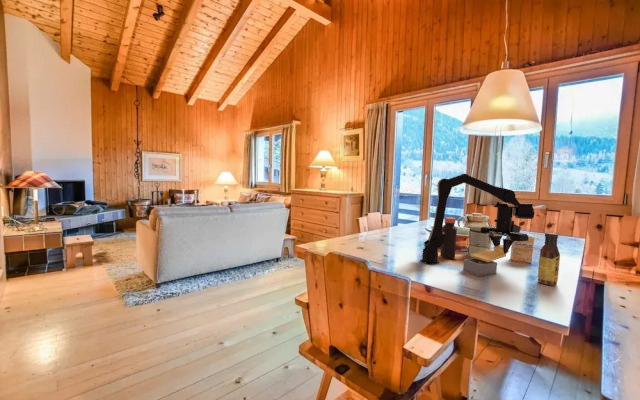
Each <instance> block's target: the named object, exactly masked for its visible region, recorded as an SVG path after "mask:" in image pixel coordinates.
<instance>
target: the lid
mask: <svg viewBox="0 0 640 400" xmlns="http://www.w3.org/2000/svg"><path fill="white" fill-rule="evenodd" d="M508 253H510V251H509V250H508V252H507V254H508ZM507 254H504V249H503V244H500V245H498V246H493V250H492V249H491V250H489V249H488V250H484V251H481V252H478V253H474V254H471V256H470V257H471V258H476V259H479V260H482V261H485V262H490V261H496V260H500V259H502V258H506V257H507Z"/></svg>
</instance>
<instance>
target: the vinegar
mask: <svg viewBox="0 0 640 400" xmlns="http://www.w3.org/2000/svg"><path fill="white" fill-rule="evenodd" d="M455 225H456V218H455V217H450V216H449V217H448V216H447V217H445V216H444V225H443V226H442V232H444V233H445V234H446V235H445V238H444V243H443V244H442V246H441V247H440V257H441V258H442V259H445V260H446V259H447V260H454V259H455V258H456V248H457V247H456V245H457V234H458V233H457V231H458V228H457V227H456V226H455Z"/></svg>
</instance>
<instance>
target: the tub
mask: <svg viewBox="0 0 640 400" xmlns="http://www.w3.org/2000/svg"><path fill="white" fill-rule="evenodd" d="M497 266H498V262H496V261H495V260H493V261H490V262H485V261H482V260H479V259H476V258H473V257H471V258H464V259H463V267H462V270H463V272H466V273H468V274H471V275H474V276H477V277H478V278H479V277H487V276H494V275H497Z"/></svg>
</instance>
